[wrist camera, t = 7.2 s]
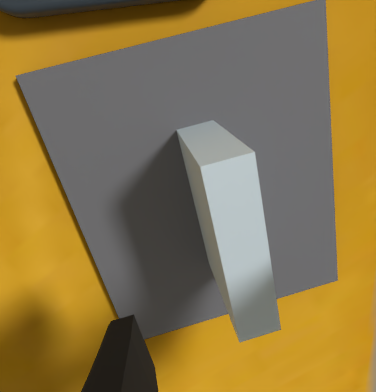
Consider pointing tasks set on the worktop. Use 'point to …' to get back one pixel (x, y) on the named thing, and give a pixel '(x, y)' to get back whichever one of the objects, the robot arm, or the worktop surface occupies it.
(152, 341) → the worktop surface
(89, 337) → the worktop surface
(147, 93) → the mat
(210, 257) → the block
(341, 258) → the worktop surface
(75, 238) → the worktop surface
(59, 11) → the smartphone
